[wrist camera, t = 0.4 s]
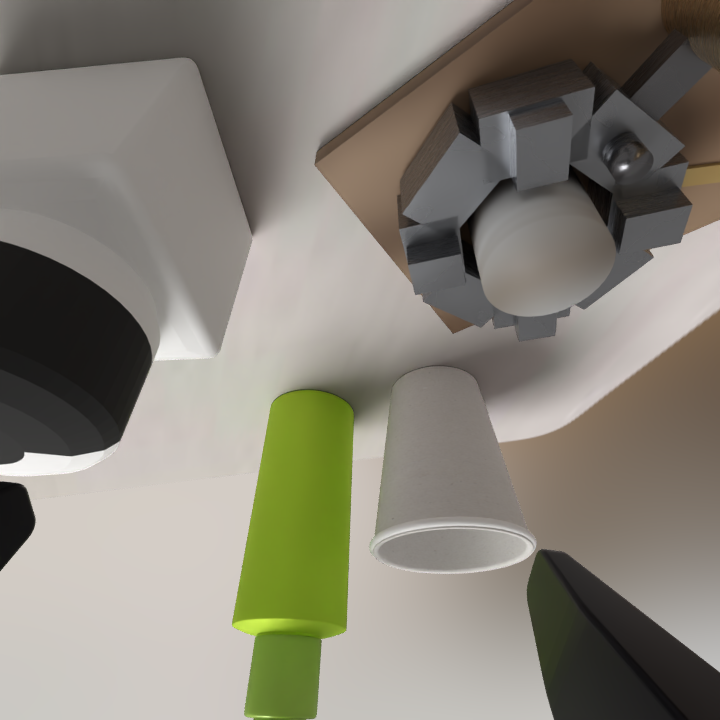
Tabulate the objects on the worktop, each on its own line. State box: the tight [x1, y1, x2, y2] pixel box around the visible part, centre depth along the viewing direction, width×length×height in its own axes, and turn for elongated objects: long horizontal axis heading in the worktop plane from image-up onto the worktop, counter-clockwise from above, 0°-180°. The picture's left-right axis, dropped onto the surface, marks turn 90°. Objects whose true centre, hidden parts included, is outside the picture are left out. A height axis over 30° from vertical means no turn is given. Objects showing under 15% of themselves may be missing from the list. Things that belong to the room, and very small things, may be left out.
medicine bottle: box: [0, 57, 252, 476], centre depth 13 cm, size 7×7×12 cm
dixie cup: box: [369, 366, 536, 574], centre depth 25 cm, size 8×8×10 cm
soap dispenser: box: [232, 390, 354, 720], centre depth 24 cm, size 6×7×20 cm
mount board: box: [315, 0, 720, 334], centre depth 15 cm, size 11×14×5 cm
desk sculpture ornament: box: [397, 0, 720, 341], centre depth 12 cm, size 9×14×10 cm, turn 151°
